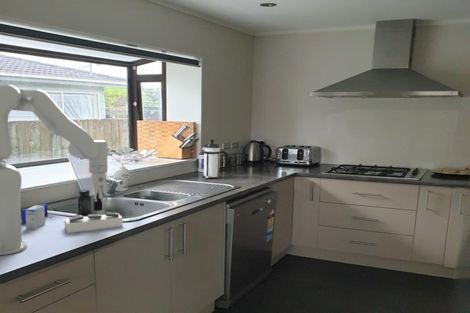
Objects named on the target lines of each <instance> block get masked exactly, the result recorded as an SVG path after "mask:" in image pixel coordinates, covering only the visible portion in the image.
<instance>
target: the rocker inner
mask: <svg viewBox="0 0 470 313" xmlns="http://www.w3.org/2000/svg"><path fill="white" fill-rule="evenodd" d="M83 217H84V216H82V215H75V216H72V217H71V216H70V217H69V218H68V219H69V220H70V222H73V221H77V220H81V219H83Z"/></svg>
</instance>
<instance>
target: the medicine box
mask: <svg viewBox="0 0 470 313" xmlns="http://www.w3.org/2000/svg"><path fill="white" fill-rule="evenodd" d="M45 218H46V217H45V206H41V205H40V204H39V205H33V206H31V207H29V208H26V223H25V229H26V230H37V229H39V228H40V227H41V226H44V225H45V224H46V219H45Z"/></svg>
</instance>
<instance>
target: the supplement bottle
mask: <svg viewBox="0 0 470 313" xmlns="http://www.w3.org/2000/svg"><path fill="white" fill-rule="evenodd" d="M90 191H91V190H90V189H85V188H84V189H79V191H78V192H79V193H78V194H79V195H78V196H77V197H76V206H77V208H76V209H77V212H76V213H77V216H79V215H82V216H83V217H87V216H88V215H92V214H93V196H92V195H91V192H90Z"/></svg>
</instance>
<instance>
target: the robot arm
mask: <svg viewBox="0 0 470 313" xmlns="http://www.w3.org/2000/svg"><path fill="white" fill-rule="evenodd" d="M12 111H20V112H31V113H33V114H34V115H35V117H37V119H39V121H41V123H42V124H43V125H44V126H45V127H46V128H47V129H48V130H49V131H50V132H51V133H53V134H55V135H56V136H59V137H60V138H63V139H64V140H66V141H67V142H69V145H68V146H67V148H68V149H67V150H68V153H69V154H70V156H72V157H74V158H77V159H83V160H88V173H89V174H91V175H90V176H91V178H90V182H91V183H90V187H91V188H90V189H91V190H90V191H91V193H92V194H93V210H94V212H97V211H99V212H101V211H103V195H104V196H107V192H108V191H107V173H108V142H107V141H106V140H101V139H99V140H98V139H93V138H92V136H90V134H89V133H88V132H87V130H85V129H83V127H81V126H79V125H78V124H77V123H76V122H75V121H73V120H72V119H71V118H69V116H67V114H66V113H65V112H64V111H63V110H62V109H61V107H60V106H59V105H58V104H57V103H56V102H55V101H54V99H53V98H52V97H51V96H50V95H49V94H48V93H47V92H45V91H44V90H42V89H24V88H17V87H16V86H15V85H12V84H9V83H8V84H5V83H4V84H0V256H6V255H12V254H13V255H14V254H16V253H17V254H18V253H19V252H20V253H21V252H22V251H24V250H26V248H27V247H28V246H27V245H28V244H27V242H25V241H23V237H22V235H23V234H22V209H21V189H22V175H21V173H20V171H19V170H18V168H16V167H15V166H13V165H11V164H8V163H6V161H7V160H8V159H11V156H12V155H13V152H14V151H13V149H14V148H13V143H12V138H11V132H10V128H9V116H10V114H11V112H12Z"/></svg>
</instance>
